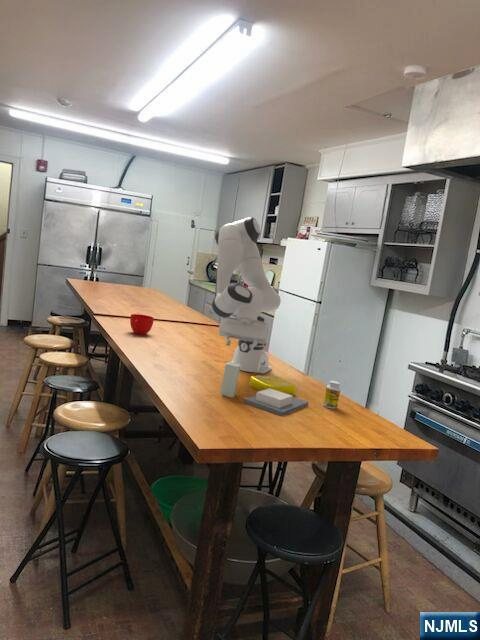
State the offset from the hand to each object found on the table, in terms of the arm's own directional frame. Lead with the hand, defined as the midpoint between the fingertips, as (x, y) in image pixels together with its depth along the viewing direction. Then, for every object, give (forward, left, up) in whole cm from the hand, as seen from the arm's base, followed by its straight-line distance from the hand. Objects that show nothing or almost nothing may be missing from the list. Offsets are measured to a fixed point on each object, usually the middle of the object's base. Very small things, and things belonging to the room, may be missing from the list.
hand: (239, 346), depth 199 cm
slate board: (+3, +22, -17) cm, 28 cm away
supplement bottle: (-16, +36, -17) cm, 43 cm away
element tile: (-14, +11, -17) cm, 25 cm away
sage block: (+11, +5, -17) cm, 20 cm away
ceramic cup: (-38, -89, -17) cm, 98 cm away
